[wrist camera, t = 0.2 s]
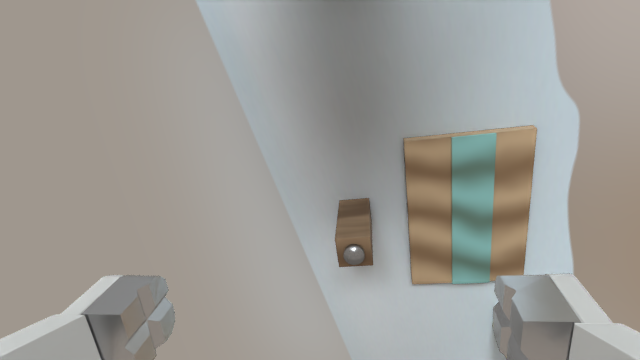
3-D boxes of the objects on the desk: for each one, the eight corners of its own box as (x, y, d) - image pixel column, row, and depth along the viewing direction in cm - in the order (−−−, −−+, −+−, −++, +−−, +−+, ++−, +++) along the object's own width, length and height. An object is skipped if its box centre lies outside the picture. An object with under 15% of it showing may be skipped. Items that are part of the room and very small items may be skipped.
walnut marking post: (339, 200, 53) (334, 243, 44) (368, 198, 52) (369, 240, 43) (343, 225, 55) (338, 271, 46) (371, 223, 54) (373, 269, 45)
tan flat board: (403, 138, 48) (404, 142, 47) (532, 125, 46) (538, 129, 45) (411, 278, 57) (412, 285, 56) (519, 273, 55) (523, 280, 54)
